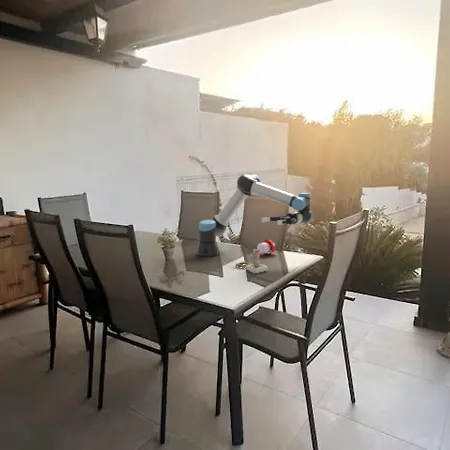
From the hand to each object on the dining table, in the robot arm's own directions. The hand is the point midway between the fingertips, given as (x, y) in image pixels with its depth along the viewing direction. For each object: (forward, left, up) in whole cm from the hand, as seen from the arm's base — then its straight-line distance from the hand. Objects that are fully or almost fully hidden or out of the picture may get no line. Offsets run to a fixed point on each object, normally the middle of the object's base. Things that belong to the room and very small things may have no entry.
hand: (269, 221), depth 236 cm
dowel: (+2, -13, -27) cm, 30 cm away
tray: (+3, -13, -28) cm, 31 cm away
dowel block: (-9, -13, -28) cm, 32 cm away
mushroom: (-24, +15, -23) cm, 36 cm away
